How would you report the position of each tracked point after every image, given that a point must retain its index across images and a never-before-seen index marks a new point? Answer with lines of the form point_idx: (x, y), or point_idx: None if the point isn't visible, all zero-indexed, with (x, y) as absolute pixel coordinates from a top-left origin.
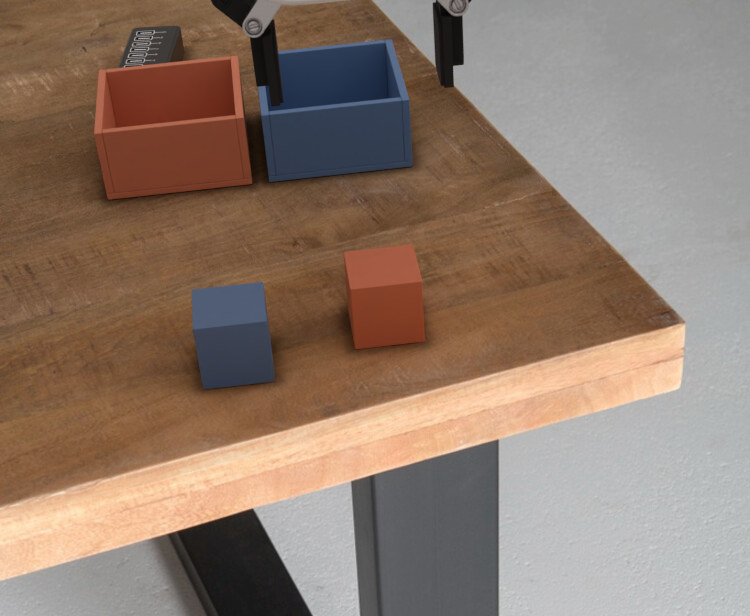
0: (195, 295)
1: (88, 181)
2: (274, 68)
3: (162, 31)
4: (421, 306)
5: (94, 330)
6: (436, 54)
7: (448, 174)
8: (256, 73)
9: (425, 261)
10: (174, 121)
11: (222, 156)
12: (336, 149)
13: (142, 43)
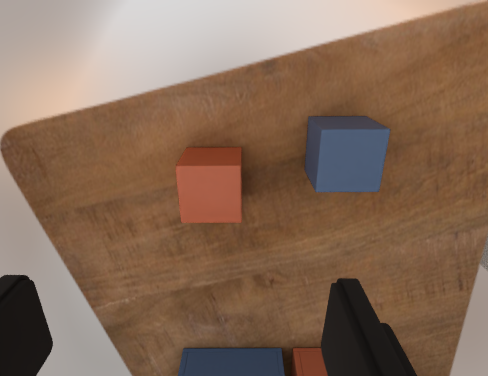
0: (377, 182)
1: None
2: (368, 337)
3: None
4: (181, 157)
5: (431, 207)
6: (25, 354)
7: (159, 336)
8: (395, 342)
9: (180, 246)
10: None
11: (314, 368)
12: (233, 365)
13: None
